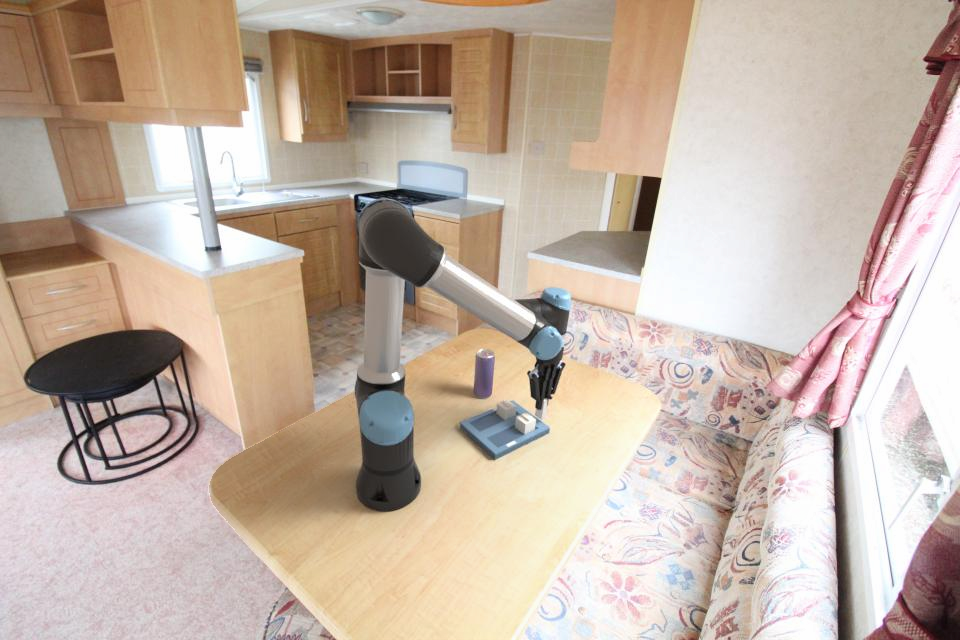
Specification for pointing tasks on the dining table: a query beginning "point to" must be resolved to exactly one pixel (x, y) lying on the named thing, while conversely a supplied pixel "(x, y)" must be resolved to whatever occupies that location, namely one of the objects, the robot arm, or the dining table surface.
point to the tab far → (506, 409)
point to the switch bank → (501, 431)
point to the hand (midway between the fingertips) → (540, 416)
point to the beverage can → (484, 373)
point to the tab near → (525, 423)
